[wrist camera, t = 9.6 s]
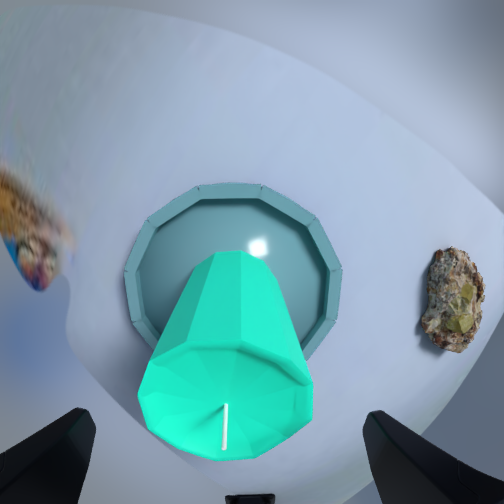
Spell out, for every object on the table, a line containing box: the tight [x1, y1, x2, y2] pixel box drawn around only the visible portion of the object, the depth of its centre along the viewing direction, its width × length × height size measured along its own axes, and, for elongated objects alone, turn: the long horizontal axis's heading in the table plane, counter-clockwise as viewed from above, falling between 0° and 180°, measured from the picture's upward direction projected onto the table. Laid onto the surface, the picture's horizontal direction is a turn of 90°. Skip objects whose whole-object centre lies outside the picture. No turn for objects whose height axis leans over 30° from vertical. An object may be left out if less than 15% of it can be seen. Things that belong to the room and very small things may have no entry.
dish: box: [124, 183, 342, 361], centre depth 19 cm, size 14×14×2 cm
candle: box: [137, 250, 313, 461], centre depth 13 cm, size 6×6×12 cm
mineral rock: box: [421, 246, 485, 353], centre depth 20 cm, size 11×4×8 cm
